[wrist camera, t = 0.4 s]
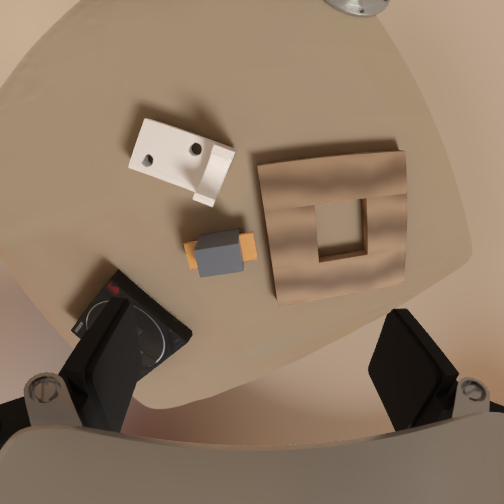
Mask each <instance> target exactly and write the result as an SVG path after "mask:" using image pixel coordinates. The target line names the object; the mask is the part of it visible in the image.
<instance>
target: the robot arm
mask: <svg viewBox="0 0 504 504" xmlns="http://www.w3.org/2000/svg"><path fill="white" fill-rule="evenodd" d="M324 1H326V2H327V3H328V4H329V5H331V6H332V7H334V8H336V9H337V10H339V11H341V12H344V13H346V14H349V15H353V16H360V17H369V16H373V15H376V14H378V13H380V12H382V11H383V10H384V9H385V8H386V7H387V6H388V4H389V2H390V0H324ZM141 369H142V356H141V350H140V344H139V338H138V331H137V325H136V317H135V310H134V304H133V303H132V302H129V299H128V298H125V297H116V296H112V297H111V299H110V300H109V301H108V303H107V304H106V306H105V307H104V308H103V310H102V311H101V313H100V314H99V316H98V317H97V319H96V320H95V321H94V323H93V324H92V326H91V327H90V329H88V330H87V331H86V332H85V334H84V335H83V337H82V338H81V340H80V341H79V343H78V344H77V346H76V347H75V349H74V350H73V352H72V353H71V355H70V356H69V358H68V360H67V361H66V363H65V365H64V366H63V368H62V369H61V371H60V372H59V374H58V375H57V374H54V373H48V372H46V373H40V374H38V375H35V376H34V377H32V378H31V379H29V381H28V382H27V383H26V385H25V387H24V397H21V398H19V399H15V400H12V401H9V402H6V403H3V404H0V504H504V406H502V405H499V404H496V403H494V402H491V401H490V394H489V391H488V389H487V387H486V386H485V385H484V384H483V383H482V382H480V381H479V380H477V379H475V378H463V379H461V380H460V381H459V382H457V380H456V378H457V377H458V375H459V373H458V371H457V370H456V369H455V367H454V366H453V365H452V363H451V362H450V361H449V360H448V358H447V357H446V356H445V354H444V353H443V352H442V351H441V349H440V348H439V347H438V346H437V345H436V343H435V342H434V341H433V339H432V338H431V337H430V336H429V334H428V333H427V332H426V331H425V330H424V328H423V327H422V326H421V325H420V324H419V322H418V321H417V320H416V319H415V318H414V316H413V315H412V314H411V313H410V312H409V311H408V310H407V309H393V310H392V311H391V312H390V313H388V314H387V316H386V319H385V322H384V325H383V328H382V331H381V334H380V337H379V340H378V342H377V345H376V348H375V351H374V353H373V356H372V358H371V361H370V364H369V367H368V372H369V375H370V377H371V379H372V382H373V384H374V386H375V388H376V390H377V392H378V394H379V396H380V398H381V401H382V403H383V405H384V407H385V409H386V411H387V413H388V416H389V418H390V420H391V422H392V425H393V427H394V429H395V431H396V432H391V433H386V434H381V435H375V436H369V437H363V438H357V439H350V440H341V441H333V442H324V443H313V444H298V445H276V446H236V445H235V446H233V445H213V444H198V443H187V442H178V441H170V440H162V439H154V438H147V437H141V436H134V435H129V434H122V433H120V430H121V427H122V424H123V421H124V418H125V415H126V412H127V409H128V406H129V403H130V400H131V397H132V394H133V391H134V389H135V386H136V383H137V380H138V377H139V374H140V372H141Z"/></svg>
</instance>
